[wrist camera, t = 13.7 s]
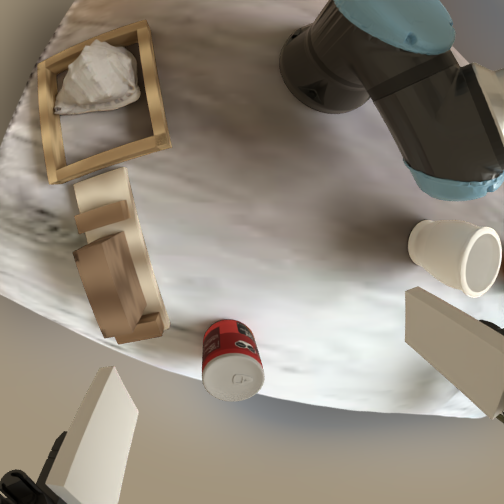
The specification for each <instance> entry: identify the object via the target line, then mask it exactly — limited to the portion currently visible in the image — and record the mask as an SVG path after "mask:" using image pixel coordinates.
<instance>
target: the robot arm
mask: <svg viewBox="0 0 504 504" xmlns="http://www.w3.org/2000/svg"><path fill="white" fill-rule="evenodd" d="M452 25H453V21H452V19H451V17H450V15H449V14H448V12H447V10H446V9H445V7H444V6H443V4H442V3H441V2H440V1H439V0H329V1H328V2H327V4H326V5H325V6H324V8H323V9H322V11H321V12H320V14H319V15H318V17H317V18H316V19H315V21H314V23H311V24H309V25H307V26H304V27H302V28H300V29H298V30H297V31H295V32H294V33H293V34H292V35H291V36H290V37H289V38H288V40H287V41H286V43H285V45H284V46H283V48H282V51H281V54H280V60H279V65H280V71H281V75H282V78H283V80H284V82H285V84H286V86H287V87H288V89H289V90H290V91H291V92H292V93H293V95H294V96H295V97H296V98H298V99H299V100H300V101H301V102H302V103H304V104H305V105H307V106H309V107H311V108H313V109H315V110H318V111H321V112H324V113H330V114H341V113H346V112H349V111H352V110H354V109H356V108H358V107H360V106H361V105H363V104H364V103H365V102H366V101H368V99H369V98H370V97H371V99H372V100H373V102H374V104H375V106H376V108H377V109H378V111H379V113H380V115H381V116H382V118H383V120H384V122H385V123H386V125H387V127H388V129H389V131H390V133H391V135H392V136H393V138H394V140H395V142H396V144H397V146H398V148H399V150H400V152H401V154H402V156H403V161H404V163H405V165H406V166H407V168H409V169H410V171H411V173H412V175H413V177H414V179H415V181H416V183H417V185H418V186H419V188H420V189H421V190H422V191H423V192H425V193H427V194H428V195H429V196H431V197H433V198H436V199H440V200H445V201H466V200H473V199H477V198H480V197H483V196H486V194H487V192H494V191H495V190H497V189H498V188H499V187H500V186H501V184H502V183H503V181H504V68H502V69H499V70H496V71H491V70H489V69H487V68H485V67H483V66H481V65H479V64H477V63H471V64H469V65H466V66H463V67H460V66H459V64H458V62H457V61H456V59H455V57H454V55H453V54H452V52H451V50H450V48H451V46H452V45H453V43H454V40H455V29H454V28H453V27H452ZM405 308H406V313H405V342H406V343H407V344H408V345H409V346H410V347H412V348H413V349H414V350H415V351H416V352H417V353H418V354H420V355H421V356H422V357H423V358H424V359H425V360H426V361H428V362H429V363H430V364H431V365H432V366H433V367H434V368H435V369H437V370H438V371H439V372H440V373H441V374H442V375H443V376H444V377H446V378H447V379H448V380H449V381H450V382H451V383H452V384H453V385H454V386H455V387H457V388H458V389H459V390H460V391H461V392H462V393H463V394H464V395H465V396H466V397H468V398H469V399H470V400H471V401H472V402H473V403H474V404H475V405H476V406H477V407H478V408H479V409H481V410H482V411H483V412H484V413H485V414H486V415H487V416H488V417H489V418H490V419H491V420H493V419H494V418H495V417H497V416H498V415H499V414H500V413H501V412H503V411H504V329H501V328H500V327H499V326H497V325H495V324H494V323H492V322H488V321H484V320H479V321H478V320H477V319H475V318H473V317H471V316H470V315H468V314H466V313H465V312H463V311H461V310H459V309H458V308H456V307H454V306H452V305H451V304H449V303H447V302H445V301H444V300H442V299H440V298H438V297H436V296H435V295H433V294H431V293H429V292H427V291H426V290H424V289H422V288H420V287H415V288H412V289H410V290H407V291H405ZM138 413H139V411H138V410H137V408H136V406H135V404H134V403H133V401H132V399H131V397H130V395H129V394H128V392H127V390H126V388H125V386H124V384H123V382H122V380H121V378H120V377H119V374H118V372H117V370H116V368H115V366H110V367H103V368H100V369H99V370H98V372H97V374H96V376H95V378H94V380H93V382H92V384H91V385H90V388H89V389H88V391H87V393H86V395H85V397H84V399H83V401H82V403H81V405H80V407H79V409H78V411H77V413H76V415H75V417H74V419H73V422H72V424H71V426H70V428H69V430H68V432H65V431H64V432H63V433H62V434H61V435H60V436H59V437H58V438H57V439H56V441H55V443H54V445H53V447H52V449H51V450H52V451H51V452H50V453H49V456H48V459H47V460H46V462H45V464H44V467H43V469H42V471H41V473H40V476H39V478H38V480H37V483H36V484H35V483H34V482H33V481H32V480H31V479H30V478H29V477H28V476H27V475H26V473H24V472H23V471H21V470H12V471H9V472H8V473H6V474H5V475H4V476H3V478H2V479H1V481H0V491H1V492H2V493H3V494H4V495H5V496H6V497H7V498H4V497H3V496H2V495H1V494H0V504H118V500H119V496H120V490H121V486H122V481H123V476H124V472H125V467H126V463H127V457H128V454H129V449H130V445H131V441H132V437H133V433H134V429H135V425H136V421H137V417H138Z"/></svg>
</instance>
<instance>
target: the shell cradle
mask: <svg viewBox="0 0 504 504" xmlns="http://www.w3.org/2000/svg"><path fill="white" fill-rule="evenodd" d="M96 39H97V40H99V41H100V42H106V43H108V44H109V45H111V46H114V47H126V46H129V45H132V44H135V43H139V50H140V57H141V64H142V71H143V77H144V83H145V89H146V95H147V101H148V106H149V112H150V117H151V122H152V128H153V133H154V136H151V137H148V138H144V139H141V140H138V141H135V142H132V143H128V144H125V145H122V146H119V147H116V148H113V149H111V150H108V151H105V152H102V153H99V154H97V155H94V156H91V157H88V158H86V159H83V160H81V161H78V162H76V163H73V164H71V165H68V166H67V164H66V159H65V153H64V146H63V139H62V132H61V124H60V115H59V114H54V113H55V112H56V111H55V109H54V107H55V101H56V96H57V94H58V92H57V74H59V73H61V72H64V71H66V70H68V69H69V68H68V65H70V64H71V63H73V62H74V61H75V60H76V59H77V58H78V57H79V55H80V54H81V52H82V51H83V49H84V47H85V46H90V45H91V44H92V43H93V42H94V41H95V40H96ZM38 100H39V114H40V125H41V135H42V143H43V150H44V157H45V164H46V170H47V175H48V181H49V185H50V184H63V183H66V182H68V181H71V180H73V179H76V178H79V177H81V176H84V175H86V174H89V173H92V172H95V171H98V170H100V169H103V168H106V167H109V166H112V165H115V164H118V163H121V162H124V161H127V160H130V159H133V158H137V157H140V156H143V155H147V154H150V153H153V152H157V151H160V150H164V149H168V148H171V147H172V145H171V141H170V136H169V131H168V126H167V121H166V116H165V111H164V106H163V101H162V95H161V90H160V84H159V79H158V73H157V67H156V61H155V55H154V49H153V42H152V36H151V30H150V28H149V25H148V23H147V20H142V21H139V22H136V23H132V24H129V25H126V26H123V27H120V28H117V29H115V30H112V31H109V32H106V33H104V34H101V35H99V36H96V37H94V38H91V39H89V40H86V41H84V42H82V43H79V44H77V45H75V46H73V47H70V48H68V49H66V50H64V51H62V52H60V53H58V54H56V55H54V56H52V57H50V58H48V59H46V60H44V61H42V62H40V63H39V64H38Z"/></svg>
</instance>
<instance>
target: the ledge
mask: <svg viewBox="0 0 504 504" xmlns="http://www.w3.org/2000/svg"><path fill="white" fill-rule="evenodd" d="M73 185H74V190H75V194H76V199H77V203H78V208H79V212H80V214H79V215H76V216H74V217H75V221H76V225H77V229H78V232H79V234H81V233H84V232H85V235H86V238H87V242H88V244H89V243H91V242H93V241H95V240H97V239H99V238H102V237H105V236H108V235H112V234H115V233H119V232H122V231H124V232H125V236H126V240H127V243H128V247H129V250H130V253H131V257H132V260H133V263H134V267H135V270H136V273H137V276H138V279H139V282H140V285H141V288H142V291H143V294H144V297H145V300H146V303H147V306H146V307H145V309H144V311H143V313H142V315H141V317H140V319H139V321H138V323H137V325H136V327H135V329H134V331H133V333H131V334H126V335H120V336H115V338H116V341H117V343H118V344H124V343H129V342H135V341H140V340H145V339H150V338H155V337H160V336H162V334H163V331H164V330H166V329H169V327H170V320H169V317H168V314H167V312H166V309H165V306H164V303H163V300H162V297H161V294H160V291H159V288H158V284H157V281H156V278H155V275H154V272H153V268H152V265H151V262H150V258H149V255H148V251H147V248H146V244H145V241H144V237H143V233H142V230H141V226H140V222H139V218H138V214H137V211H136V207H135V202H134V198H133V194H132V190H131V185H130V181H129V177H128V172H127V168H125V167H121V168H118V169H115V170H112V171H109V172H106V173H103V174H100V175H97V176H95V177H92V178H89V179H86V180H84V181H81V182H78V183H76V184H73Z"/></svg>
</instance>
